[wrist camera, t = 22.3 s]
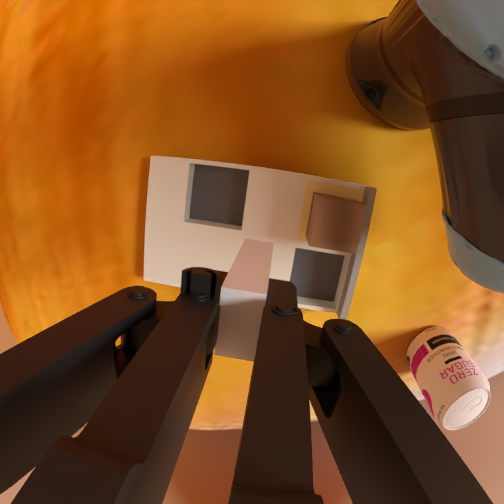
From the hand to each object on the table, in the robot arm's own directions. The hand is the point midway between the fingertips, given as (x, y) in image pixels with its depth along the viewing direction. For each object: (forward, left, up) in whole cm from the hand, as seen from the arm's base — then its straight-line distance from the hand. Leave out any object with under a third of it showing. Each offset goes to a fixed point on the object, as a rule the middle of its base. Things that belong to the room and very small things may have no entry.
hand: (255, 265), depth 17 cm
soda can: (+17, +27, -23) cm, 39 cm away
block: (0, +7, -20) cm, 21 cm away
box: (+4, -2, -22) cm, 23 cm away
